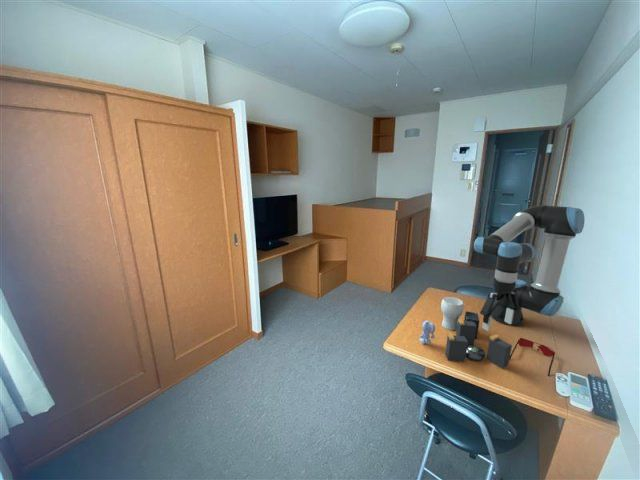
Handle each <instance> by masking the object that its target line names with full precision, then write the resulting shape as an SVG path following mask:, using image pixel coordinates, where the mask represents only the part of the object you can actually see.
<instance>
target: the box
mask: <svg viewBox="0 0 640 480" xmlns="http://www.w3.org/2000/svg"><path fill="white" fill-rule="evenodd" d="M463 321H471V322H474V323H475V324H476V326H477V328H476V335H475V340H477V339H478V332H479V326H480V319H479V314H478V312H471V311H466V310H465V315H464V320H463Z"/></svg>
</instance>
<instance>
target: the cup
mask: <svg viewBox="0 0 640 480" xmlns="http://www.w3.org/2000/svg"><path fill="white" fill-rule="evenodd" d="M440 310H441V312H442V315H443V319H442V323H441V326H442V327H443V328H444V329H445V330H450V331H457V325H458V319H460V317H461V316H462V314H463V313H464V302H463V300H461V299H460V298H457V297H453V296H446V297H444V298H443V297H442V300H441V305H440Z"/></svg>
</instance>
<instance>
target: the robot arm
mask: <svg viewBox="0 0 640 480" xmlns="http://www.w3.org/2000/svg"><path fill="white" fill-rule="evenodd" d="M584 226H585V213H584V211H583V209H581V208H579V207H578V208H577V207H572V206H560V205H559V206H557V205H547V204H546V205H543V204H540V205H534V206H530V207H528V208H525V209H523V210H520V211H518V212H517V213H515V214H514V216H513V217H512V219H511V220H509V221H508V222H507V223H505V224H504V225H502V226H501V227H500V228H498V229H497V230H496V231H494V232H492V233H491V234H490V235H488V236H487V237H485V236H478V237H477V238H476V239H475V240H474V242H473V249H474V251H475V252H476V253H480V254H483V255H486V256H487V255H488V256H492V257H494V258H495V257H497V258H496V264H495V271H494V279H493V283H492V287H493V288H494V292H491V291H489V292H488V294H487V298H486V300H485V302H484V304H483V306H482V308H481V310H480V311H479V313H480V314H481V315H482V316H483V318H482V329H484V330H485V331H488V332H490V330H491V329H490V328H491V323H492V319H493V320H495V321H496V322H498V323H500V324H503V325H507V326H510V327H511V326H512V327H519V326H522V325H523V324H524V321H525V320H524V319H525V318H524V315H523V308H524V309H526V310H529V311H531V312H534V313H537V314H539V315H542V316H546V317H553V316H555V315H556V314H557V313H558V312H559V310H560V309H561V307H562V305H563V304H564V299H565V298H564V297H563V296H562V295H561V290H560V289H559V287H558V285H559V282H560V279H561V275H562V271H563V267H564V264H565V260H566V256H567V253H568V249H569V245H570V241H571V240H572V239H574V238H576V236H577V234H578V235H579V234H581V233H582V232H583V230H584ZM535 228H536V229H543V234H544V235H545V236H546V239H545V242H544V246H543V250H542V255H541V257H540V262H539V267H538V270H537V274H536V279H535V281H534V282H533V283H531V284H530V286H529V285H528V283H527V282H526V281H525V280H522V279H518V274H519V268H520V264H523V263H525V262H529V261H530V260H532V259H533V258H534V257H535V256H536V248H535V247H534V246H533V245H532V244H530V243H525V242H522V243H521V242H520V243H518V242H513V240H514V239H516V238H517V237H518V236H519V235H521V234H522V233H523V232H525V231H526V230H528V231H529V230H530V229H535Z"/></svg>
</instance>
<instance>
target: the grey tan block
mask: <svg viewBox="0 0 640 480" xmlns="http://www.w3.org/2000/svg"><path fill="white" fill-rule="evenodd" d="M457 323H458V325H457V330H456V333H455V336H465V338H466V340H467V341H468V343H469V344H474V345H475V341H476V339H475V335H476V328H477V326H476V324H475V323H474V322H471V321H464V320H463V319H462V318H458V322H457Z"/></svg>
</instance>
